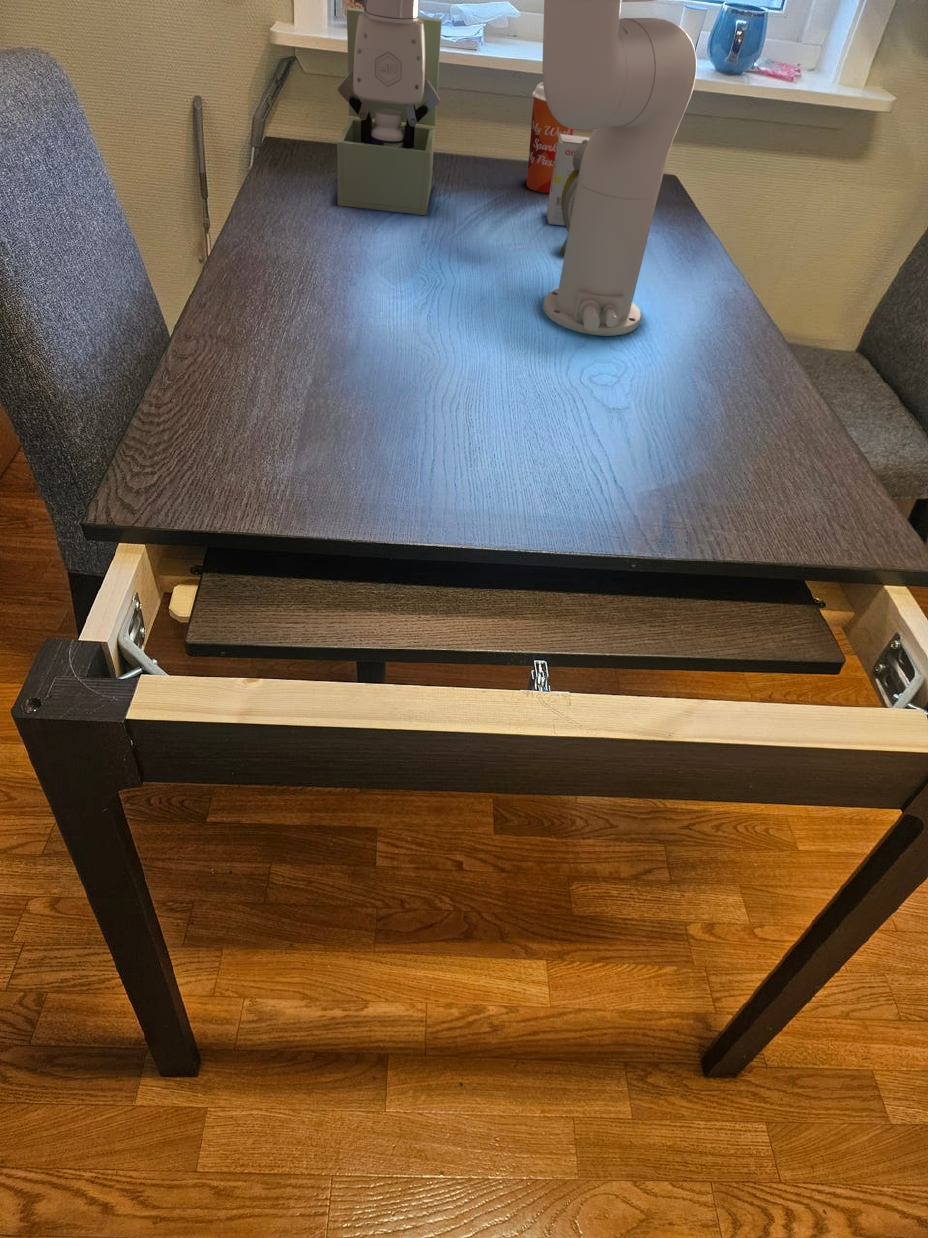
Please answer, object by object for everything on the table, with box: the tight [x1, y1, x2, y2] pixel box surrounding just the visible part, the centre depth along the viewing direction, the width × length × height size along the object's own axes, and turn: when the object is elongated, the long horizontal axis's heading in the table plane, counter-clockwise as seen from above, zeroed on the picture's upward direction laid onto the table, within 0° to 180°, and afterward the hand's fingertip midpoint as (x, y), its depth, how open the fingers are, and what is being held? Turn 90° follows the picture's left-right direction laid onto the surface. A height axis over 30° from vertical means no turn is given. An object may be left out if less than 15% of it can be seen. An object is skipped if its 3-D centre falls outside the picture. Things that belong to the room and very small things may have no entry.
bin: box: [336, 117, 436, 216], centre depth 131 cm, size 14×14×9 cm
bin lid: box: [346, 7, 443, 127], centre depth 129 cm, size 14×14×6 cm
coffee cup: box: [526, 81, 575, 194], centre depth 141 cm, size 8×8×15 cm
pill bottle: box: [370, 109, 405, 148], centre depth 128 cm, size 5×5×9 cm
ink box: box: [546, 134, 590, 227], centre depth 130 cm, size 9×5×12 cm, turn 89°
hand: (387, 148), depth 129 cm, fingers closed on pill bottle, 5 cm apart
